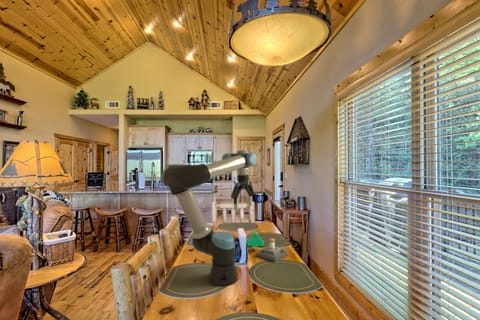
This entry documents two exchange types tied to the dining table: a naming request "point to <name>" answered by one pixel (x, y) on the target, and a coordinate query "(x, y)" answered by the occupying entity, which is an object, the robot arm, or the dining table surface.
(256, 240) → the green triangular block
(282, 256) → the housing
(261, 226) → the dining table surface
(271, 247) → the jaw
